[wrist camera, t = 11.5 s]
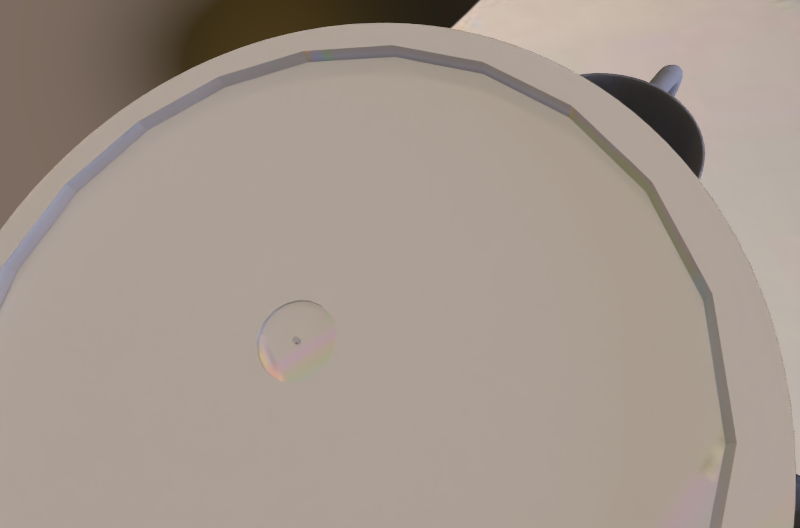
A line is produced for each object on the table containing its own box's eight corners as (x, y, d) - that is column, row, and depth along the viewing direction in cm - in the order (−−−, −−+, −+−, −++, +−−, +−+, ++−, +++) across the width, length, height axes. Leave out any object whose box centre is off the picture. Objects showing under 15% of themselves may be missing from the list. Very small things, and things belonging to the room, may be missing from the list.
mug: (581, 343, 29) (637, 273, 19) (468, 264, 33) (459, 166, 22) (692, 194, 32) (798, 56, 21) (577, 135, 36) (617, -9, 25)
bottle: (357, 553, 16) (-421, 1094, 2) (355, 352, 19) (6, 58, 5) (566, 547, 15) (1397, 1423, 1) (530, 337, 18) (674, -78, 4)
